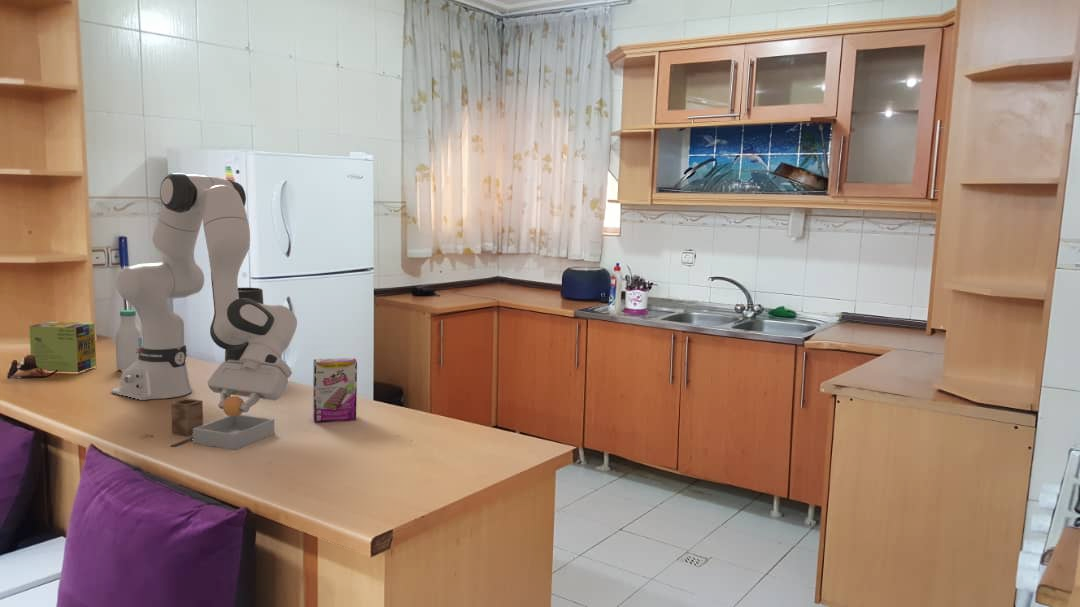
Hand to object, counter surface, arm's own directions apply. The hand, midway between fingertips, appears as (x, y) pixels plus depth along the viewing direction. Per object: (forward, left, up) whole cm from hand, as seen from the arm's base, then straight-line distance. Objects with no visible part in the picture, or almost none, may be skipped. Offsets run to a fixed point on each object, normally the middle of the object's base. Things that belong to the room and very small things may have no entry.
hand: (232, 409), depth 184 cm
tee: (-13, 0, -7) cm, 15 cm away
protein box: (-98, +36, -8) cm, 105 cm away
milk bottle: (-81, +46, -8) cm, 94 cm away
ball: (0, +1, +1) cm, 1 cm away
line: (-8, +1, -7) cm, 11 cm away
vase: (-41, +55, -8) cm, 69 cm away
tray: (0, +1, -7) cm, 7 cm away
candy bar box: (+13, +25, -8) cm, 29 cm away
